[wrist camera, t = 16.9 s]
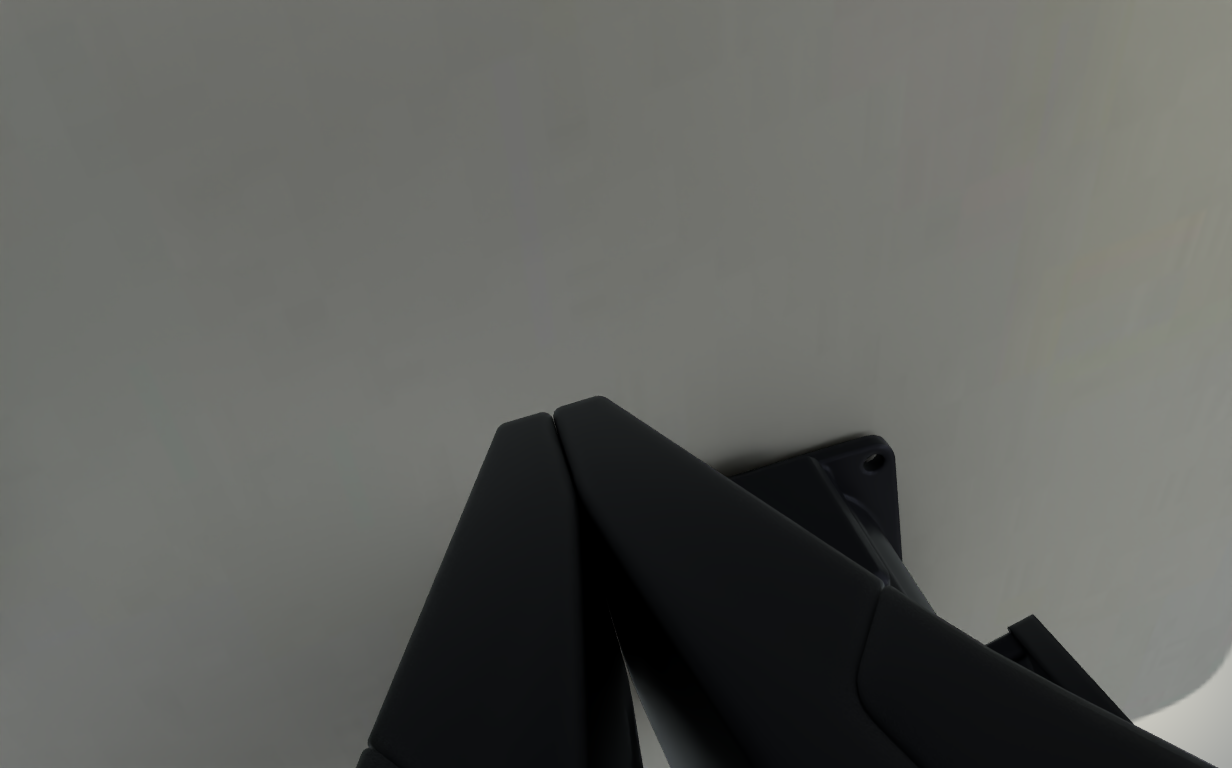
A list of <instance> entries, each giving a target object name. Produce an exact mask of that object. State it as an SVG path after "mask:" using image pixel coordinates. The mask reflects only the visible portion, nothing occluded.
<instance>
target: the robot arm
mask: <svg viewBox="0 0 1232 768" xmlns="http://www.w3.org/2000/svg"><path fill="white" fill-rule="evenodd" d="M553 418H554V421H553ZM553 418H552V416H551V415H549V414H548V413H545V412H541V413H537V414H534V415H530V416H527V417H523V418H520V419H517V420H513V421H510V422H506V423H504V424H502V425H501V426H500V427H499V428H498V429H497V431H496V433H495V436H494V438H493V441H492V443H491V445H490V448H489V450H488V453H487V455H486V457H485V460H484V462H483V465H482V467H481V469H480V472H479V474H478V477H477V479H476V481H475V484H474V486H473V489H472V491H471V493H470V496H469V498H468V501H467V503H466V506H465V508H464V510H463V513H462V515H461V518H460V520H459V522H458V525H457V527H456V530H455V532H454V534H453V537H452V539H451V542H450V544H449V546H448V549H447V551H446V554H445V556H444V558H443V561H442V563H441V566H440V568H439V571H438V573H437V575H436V578H435V580H434V583H433V585H432V587H431V590H430V592H429V595H428V597H427V599H426V602H425V604H424V607H423V609H422V611H421V614H420V616H419V619H418V621H417V623H416V626H415V628H414V631H413V633H412V635H411V638H410V640H409V643H408V645H407V647H406V650H405V652H404V655H403V657H402V660H401V662H400V664H399V667H398V669H397V672H396V674H395V676H394V679H393V681H392V684H391V686H390V688H389V691H388V693H387V696H386V698H385V700H384V703H383V705H382V708H381V710H380V712H379V715H378V717H377V720H376V722H375V724H374V727H373V729H372V732H371V734H370V736H369V739H368V746H369V748H367V749H365V750H364V751H363V752H362V754H361V756H360V759H359V761H358V764H357V766H356V768H643V763H642V757H641V751H640V744H639V738H638V732H637V726H636V719H635V713H634V707H633V701H632V696H631V691H630V686H629V680H628V676H627V672H626V668H625V664H624V661H623V657H622V653H623V656H624V659H625V662H626V665H627V668H628V671H629V674H630V677H631V679H632V681H633V684H634V686H635V689H636V691H637V694H638V696H639V698H640V701H641V703H642V705H643V708H644V710H645V712H646V714H647V716H648V719H649V721H650V723H651V725H652V728H653V730H654V732H655V734H656V736H657V739H658V741H659V743H660V745H661V747H662V750H663V752H664V754H665V756H666V758H667V761H668V763H669V765H670V767H671V768H1218V767H1215V766H1213V765H1212V764H1210V763H1208V762H1206V761H1204V760H1202V759H1200V758H1198V757H1196V756H1194V755H1192V754H1190V753H1188V752H1186V751H1184V750H1182V749H1180V748H1178V747H1176V746H1174V745H1173V744H1171V743H1168V742H1166V741H1165V740H1163V739H1161V738H1159V737H1157V736H1155V735H1153V734H1151V733H1149V732H1147V731H1145V730H1143V729H1141V728H1139V727H1137V726H1135V725H1134V724H1133V723H1132V722H1131V721H1130V720H1129V719H1128V717H1127V716H1126V715H1125V714H1124V713H1123V712H1122V711H1121V710H1120V709H1119V708H1118V706H1117V705H1116V704H1115V703H1114V702H1113V701H1112V700H1111V699H1110V698H1109V697H1108V696H1107V694H1106V693H1105V692H1104V691H1103V690H1102V689H1101V688H1100V687H1099V686H1098V685H1097V683H1096V682H1095V681H1094V680H1093V679H1092V678H1091V677H1090V676H1089V675H1088V674H1087V673H1086V671H1085V670H1084V669H1083V668H1082V667H1081V666H1080V665H1079V664H1078V663H1077V662H1076V660H1075V659H1074V658H1073V657H1072V656H1071V655H1070V654H1069V653H1068V652H1067V651H1066V650H1065V648H1064V647H1063V646H1062V645H1061V644H1060V643H1059V642H1058V641H1057V640H1056V639H1055V637H1054V636H1053V635H1052V634H1051V633H1050V632H1049V631H1048V630H1047V629H1046V628H1045V627H1044V625H1043V624H1042V623H1041V622H1040V621H1039V620H1038V619H1037V618H1036V617H1035V616H1034V615H1033V614H1032V615H1030V616H1028V617H1027V618H1025V619H1023V620H1021V621H1019V622H1017V623H1015V624H1013V625H1011V626H1010V627H1008V631H1009V633H1007V634H1005V635H1003V636H1001V637H999V638H997V639H996V640H994V641H992V642H990V643H988V644H986V645H984V644H982V643H980V642H979V641H977V640H976V639H974V638H972V637H971V636H969V635H967V634H966V633H964V632H963V631H961V630H959V629H958V628H956V627H955V626H953V625H951V624H950V623H948V622H946V621H945V620H943V619H942V618H940V617H938V616H937V615H936V613H935V612H934V610H933V609H932V607H931V606H930V604H929V603H928V601H927V599H926V598H925V596H924V595H923V593H922V592H921V590H920V589H919V587H918V586H917V584H916V583H915V581H914V580H913V578H912V577H911V575H910V573H909V572H908V570H907V569H906V567H905V566H904V564H903V563H902V550H901V535H900V521H899V507H898V492H897V478H896V463H895V455H894V452H893V450H892V449H891V448H890V446H889V445H888V443H887V442H886V441H885V440H884V439H883V438H882V437H880V436H876V435H869V436H864V437H861V438H857V439H854V440H851V441H847V442H844V443H841V444H837V445H834V446H831V447H827V448H824V449H821V450H818V451H814V452H811V453H808V454H804V455H801V456H798V457H794V458H791V459H788V460H784V461H781V462H778V463H775V464H771V465H768V466H765V467H761V468H758V469H755V470H751V471H748V472H745V473H741V474H738V475H735V476H731V477H728V478H727V477H725V476H724V475H722V474H721V473H719V472H718V471H716V470H715V469H713V468H712V467H710V466H709V465H707V464H706V463H704V462H703V461H701V460H700V459H698V458H697V457H695V456H694V455H692V454H691V453H689V452H688V451H686V450H685V449H683V448H682V447H680V446H679V445H677V444H676V443H674V442H672V441H671V440H669V439H668V438H666V437H665V436H663V435H662V434H660V433H659V432H657V431H656V430H654V429H653V428H651V427H650V426H648V425H647V424H645V423H644V422H642V421H641V420H639V419H638V418H636V417H635V416H633V415H632V414H630V413H629V412H627V411H626V410H624V409H623V408H621V407H620V406H618V405H617V404H615V403H613V402H612V401H610V400H609V399H607V398H606V397H603V396H595V397H591V398H588V399H584V400H581V401H578V402H574V403H571V404H568V405H564V406H561V407H559V408H557V409H556V410H555V411H554V415H553ZM554 423H555V424H554ZM555 426H556V427H555ZM873 454H877V455H876V456H875V457H874V459H872V460H870V461H869V462H865V460H866V459H867V458H868V457H870V456H871V455H873ZM609 610H610V611H609ZM610 613H611V614H610ZM611 617H612V618H611ZM612 620H613V621H612ZM613 623H614V625H613ZM614 627H615V628H614ZM615 630H616V632H615ZM616 633H617V635H616ZM617 637H618V639H617ZM618 640H619V642H618ZM619 643H620V646H619ZM620 647H621V649H620ZM621 650H622V653H621Z"/></svg>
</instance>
